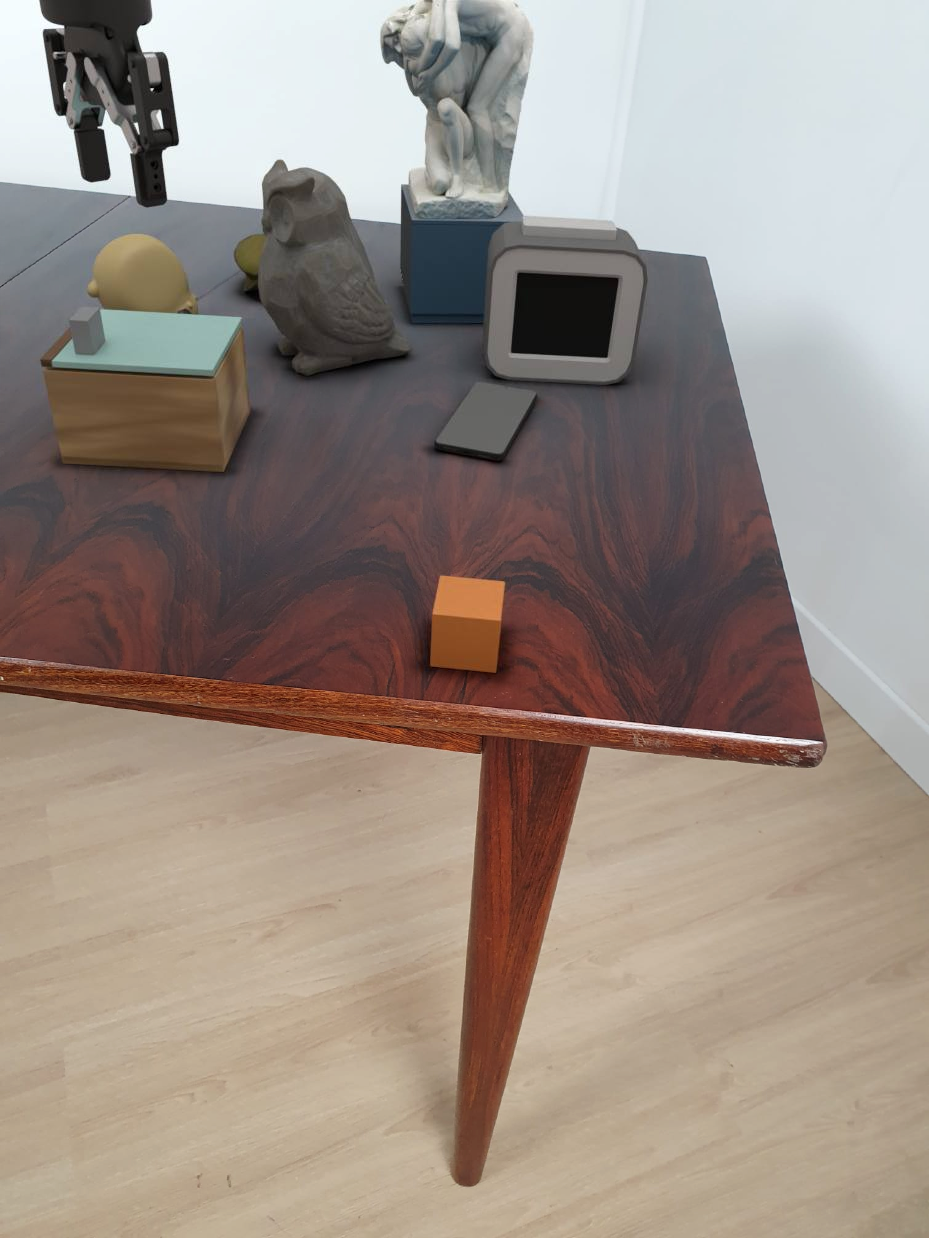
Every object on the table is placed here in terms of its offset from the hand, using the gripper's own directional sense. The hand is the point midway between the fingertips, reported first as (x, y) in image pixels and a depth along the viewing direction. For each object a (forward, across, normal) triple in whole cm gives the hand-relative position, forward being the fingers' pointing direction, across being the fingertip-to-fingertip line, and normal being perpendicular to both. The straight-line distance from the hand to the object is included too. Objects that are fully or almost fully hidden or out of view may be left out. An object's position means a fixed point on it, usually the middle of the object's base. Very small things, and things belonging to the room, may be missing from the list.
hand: (124, 192), depth 77 cm
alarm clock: (+23, +9, +45) cm, 51 cm away
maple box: (+23, -3, +2) cm, 23 cm away
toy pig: (+23, -27, +14) cm, 38 cm away
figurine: (+23, -8, +27) cm, 36 cm away
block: (+22, +39, +1) cm, 45 cm away
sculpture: (+23, -13, +49) cm, 56 cm away
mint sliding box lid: (+13, -3, +1) cm, 14 cm away
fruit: (+23, -31, +34) cm, 51 cm away
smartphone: (+23, +15, +28) cm, 39 cm away
